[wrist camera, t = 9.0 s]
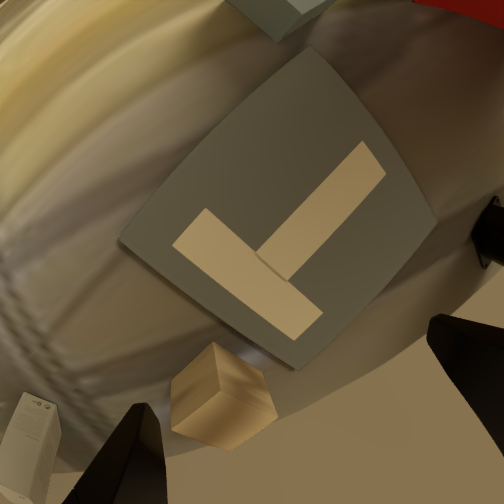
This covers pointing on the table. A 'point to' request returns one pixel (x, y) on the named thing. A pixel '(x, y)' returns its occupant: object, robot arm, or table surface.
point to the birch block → (220, 399)
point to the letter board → (286, 213)
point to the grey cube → (281, 14)
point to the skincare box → (29, 451)
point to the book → (473, 9)
